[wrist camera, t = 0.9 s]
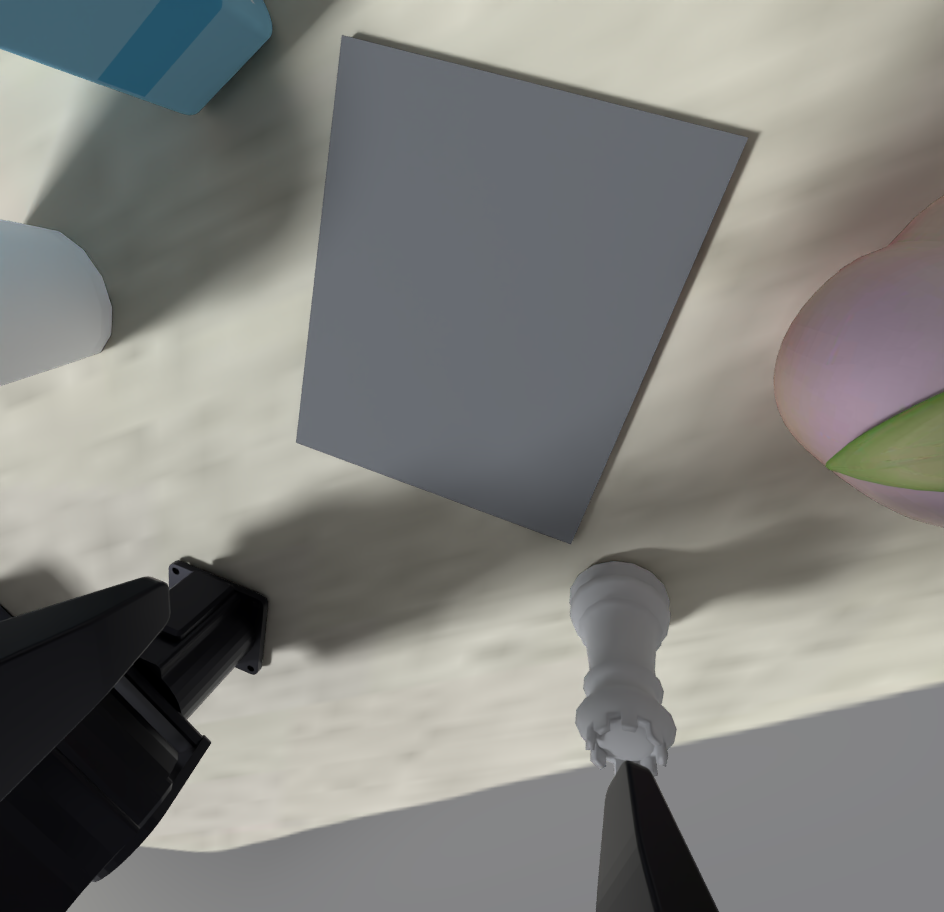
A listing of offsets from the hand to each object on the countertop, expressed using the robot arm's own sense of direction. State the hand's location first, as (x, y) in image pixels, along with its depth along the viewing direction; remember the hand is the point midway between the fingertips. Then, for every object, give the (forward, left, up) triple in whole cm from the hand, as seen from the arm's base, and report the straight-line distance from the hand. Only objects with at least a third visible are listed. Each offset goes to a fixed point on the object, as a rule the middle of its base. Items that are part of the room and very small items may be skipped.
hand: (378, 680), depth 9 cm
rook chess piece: (-6, -7, -14) cm, 17 cm away
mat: (+4, +3, -14) cm, 14 cm away
